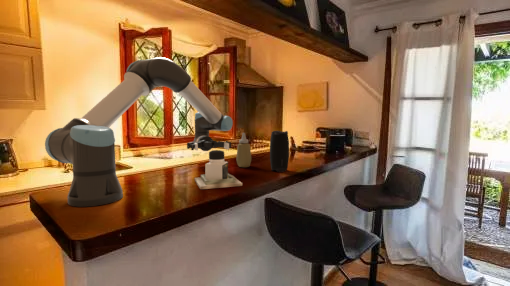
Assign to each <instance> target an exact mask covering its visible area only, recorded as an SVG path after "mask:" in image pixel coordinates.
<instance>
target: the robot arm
mask: <svg viewBox="0 0 510 286" xmlns="http://www.w3.org/2000/svg"><path fill="white" fill-rule="evenodd" d="M160 87H165V88H169V89H170V90H171V91H173V92H174V93H175V94H179V95H180V96H181V97H182V98H183V99H184V100H185V101H186V102H187V103H188V104H190V106H192V107H193V108H194V110H196V111H197V112H195V114H194V139H193V141H189V142H187V143H186V149H187V150H188V149H190V150H191V151H194V150H195V151H198V150H199V149H200V150H201V151H203V152H208V151H209V152H210V150H211V151H212V150H213V149H216V148H224V149H225V150H230V148H232V141H228V140H225V141H222V140H219V141H217V140H213V138H212V137H210V131H217V132H218V131H220V132H228V131H231V129H232V128H233V124H234V123H233V119H232V117H231V116H229V115H224V114H222V112H221V111H220V110H219V109H218V108H217V107H216V106H215V105H214V104H213V102H212V101H210V99H209V98H208V97H207V96H206V95H205V94H204V93H203V92H202V90H200V89H199V87H198V86H197V85H196V84H195V83H194V82H193V81H192V77H191V75H190V74H189V73H188V72H187V71H186V70H185V69H184V68H183V67H181V66H180V65H179V64H177V63H176V62H175V61H173V60H171V59H169V58H166V57H162V56H160V57H152V58H149V59H138V60H136V61H133V62H131V63H130V64H129V66H128V67H127V68H126V72H125V73H124V75H123V80H122V82H120V83H119V84H118V85H117V86H115V88H113V89H112V90H111V91H110V92H109V93H108V94H107V95H105V97H103V98H102V99H101V100H100V101H99V102H98V103H96V105H94V107H92V108H91V109H90V110H89V111H87V113H85V114H84V115H83V116H82V117H80V118H77V117H74V118H72V119H71V120H70V121H69V122H68V123H67V124H66V125H64V126H63V127H59V128H57V129H53V130H52V131H51V132H50V133H48V135H47V136H46V138H45V141H44V148H45V151H46V153H47V155H49V157H50V158H51V159H53V160H54V161H57V162H59V163H61V164H70V165H71V166H72V181H71V184H70V187H69V190H68V193H67V204H68V205H69V206H71V207H76V208H77V207H78V208H79V207H80V208H82V207H85V208H86V207H87V208H88V207H96V206H102V205H107V204H108V205H109V204H111V203H114V202H118V201H119V200H122V199H123V197H124V194H123V188H122V185H121V182H120V181H119V178H118V176H117V170H116V169H117V168H116V148H115V145H116V143H115V142H116V139H115V133H114V131H113V129H112V128H110V127H111V126H112V125H114V123H116V122H117V121H118V120H119V118H120V117H122V115H123V114H125V113H126V111H128V110H129V109H130V107H132V105H134V104H135V102H136V101H138V99H140V97H142V96H144V97H146V96H148V95H149V94H150V93H151V92H152V91H153V90H154V89H155V88H160Z"/></svg>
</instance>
